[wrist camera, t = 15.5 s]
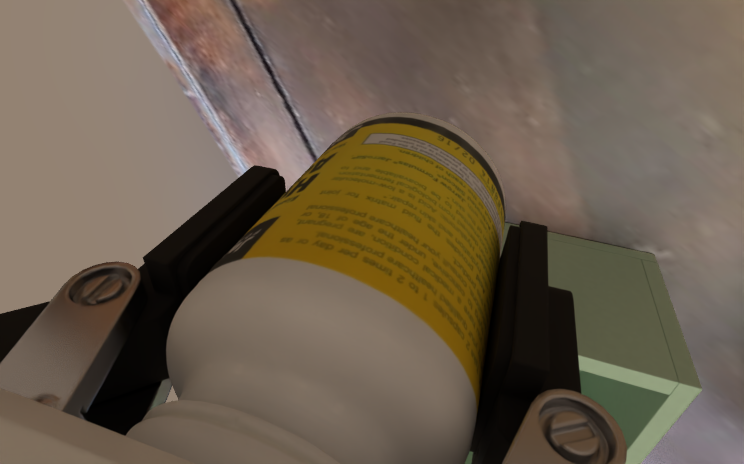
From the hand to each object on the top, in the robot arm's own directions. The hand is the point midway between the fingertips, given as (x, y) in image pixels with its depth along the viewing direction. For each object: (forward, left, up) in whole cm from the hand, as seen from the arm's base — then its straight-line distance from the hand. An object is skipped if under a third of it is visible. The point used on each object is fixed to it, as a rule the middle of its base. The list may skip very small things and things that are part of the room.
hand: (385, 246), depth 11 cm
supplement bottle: (0, 0, -3) cm, 3 cm away
